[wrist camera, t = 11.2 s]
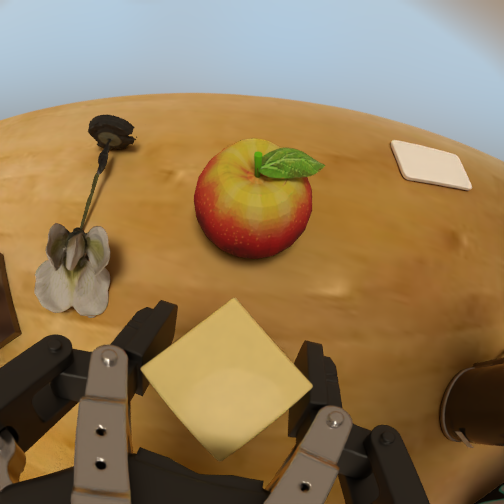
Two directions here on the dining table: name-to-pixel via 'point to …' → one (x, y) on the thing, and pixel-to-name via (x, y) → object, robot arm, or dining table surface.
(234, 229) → the fruit
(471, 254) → the dining table surface
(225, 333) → the butter
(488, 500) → the lantern
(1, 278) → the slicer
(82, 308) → the artificial flower
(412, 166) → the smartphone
